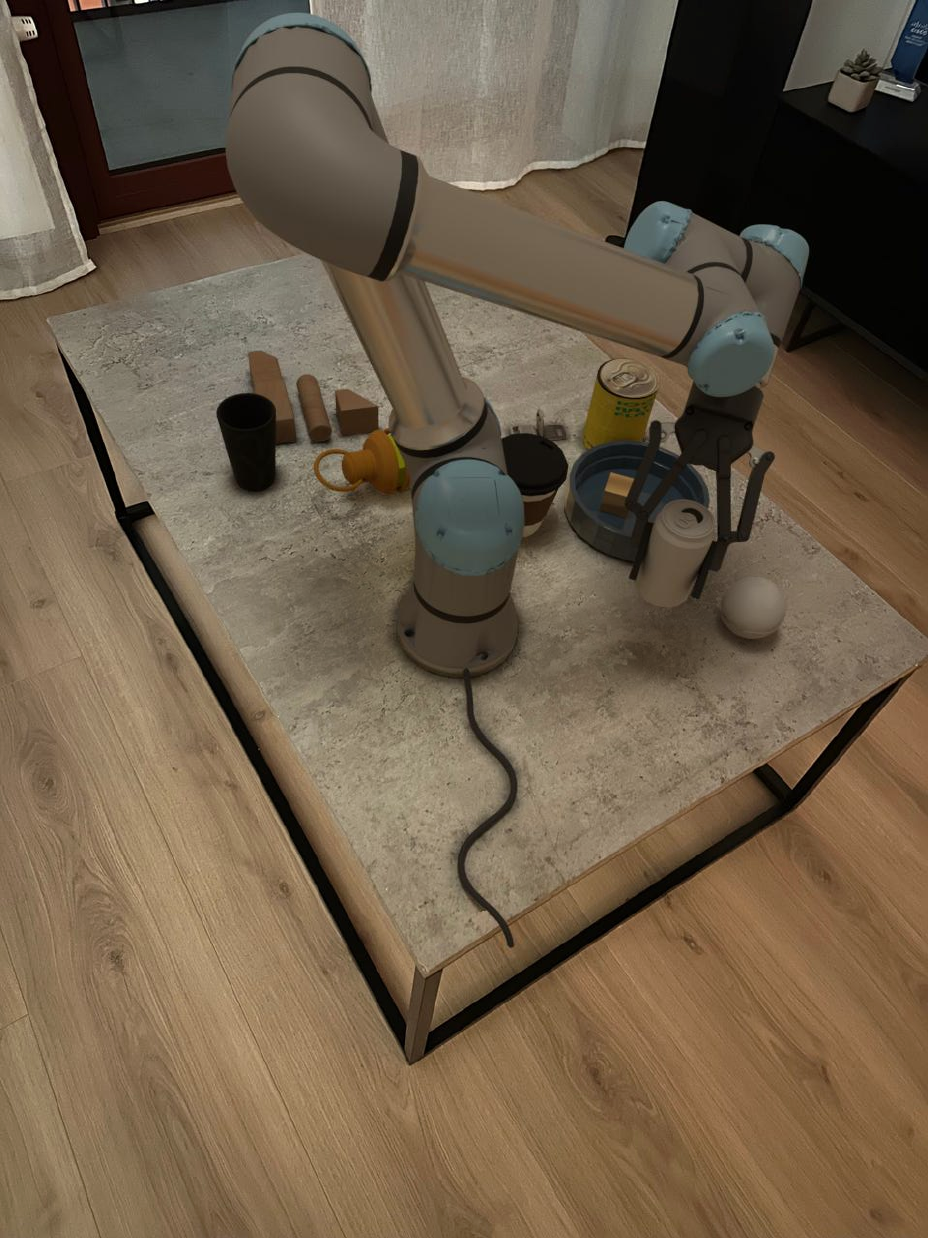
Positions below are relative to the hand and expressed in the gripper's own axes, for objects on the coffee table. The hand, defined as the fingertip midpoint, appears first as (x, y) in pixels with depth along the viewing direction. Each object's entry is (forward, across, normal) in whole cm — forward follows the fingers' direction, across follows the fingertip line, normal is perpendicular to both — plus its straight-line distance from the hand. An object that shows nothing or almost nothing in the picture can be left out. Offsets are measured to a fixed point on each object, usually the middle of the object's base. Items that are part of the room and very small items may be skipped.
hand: (663, 588), depth 99 cm
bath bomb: (+3, -12, -21) cm, 24 cm away
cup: (+3, +58, -21) cm, 61 cm away
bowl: (-8, +6, -31) cm, 33 cm away
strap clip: (-15, +23, -39) cm, 48 cm away
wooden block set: (-10, +57, -33) cm, 67 cm away
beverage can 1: (-17, +12, -41) cm, 46 cm away
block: (-8, +8, -31) cm, 33 cm away
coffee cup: (-2, +21, -25) cm, 33 cm away
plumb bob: (-2, +39, -26) cm, 46 cm away
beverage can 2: (+1, 0, -5) cm, 5 cm away
